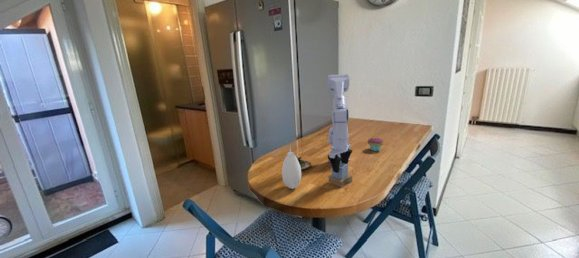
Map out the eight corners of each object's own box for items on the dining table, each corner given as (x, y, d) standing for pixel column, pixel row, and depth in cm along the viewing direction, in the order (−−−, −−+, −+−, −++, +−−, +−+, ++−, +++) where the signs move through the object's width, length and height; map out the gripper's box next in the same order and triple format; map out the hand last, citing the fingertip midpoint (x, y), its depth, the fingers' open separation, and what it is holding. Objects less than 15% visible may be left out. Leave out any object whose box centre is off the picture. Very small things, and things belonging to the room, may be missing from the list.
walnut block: (339, 177, 112) (339, 171, 111) (352, 182, 107) (352, 176, 106) (328, 182, 107) (328, 176, 107) (341, 188, 102) (341, 181, 102)
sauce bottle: (287, 182, 109) (284, 142, 104) (304, 184, 106) (302, 144, 102) (279, 190, 102) (277, 148, 97) (298, 193, 99) (296, 150, 95)
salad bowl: (290, 173, 118) (290, 159, 116) (284, 165, 129) (283, 151, 127) (314, 170, 121) (314, 155, 119) (306, 161, 132) (306, 148, 130)
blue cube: (337, 172, 110) (337, 161, 109) (347, 175, 107) (347, 164, 106) (331, 176, 106) (331, 165, 105) (342, 179, 103) (342, 168, 102)
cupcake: (367, 151, 141) (368, 131, 138) (367, 147, 149) (367, 127, 146) (384, 152, 139) (385, 131, 136) (382, 147, 147) (383, 127, 144)
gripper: (339, 132, 110) (339, 161, 113) (322, 141, 99) (323, 172, 103) (354, 134, 106) (354, 164, 109) (338, 143, 95) (338, 176, 98)
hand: (340, 168), depth 106 cm, fingers open, 7 cm apart
